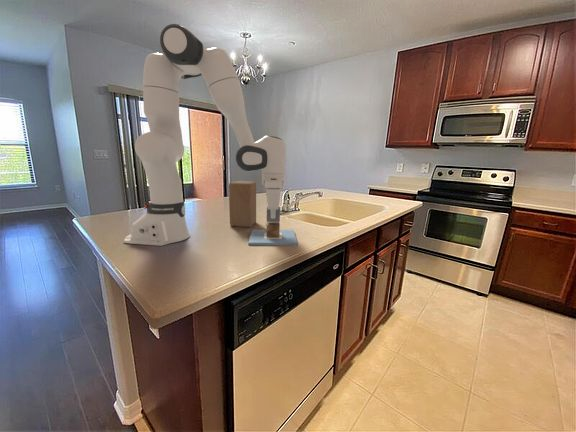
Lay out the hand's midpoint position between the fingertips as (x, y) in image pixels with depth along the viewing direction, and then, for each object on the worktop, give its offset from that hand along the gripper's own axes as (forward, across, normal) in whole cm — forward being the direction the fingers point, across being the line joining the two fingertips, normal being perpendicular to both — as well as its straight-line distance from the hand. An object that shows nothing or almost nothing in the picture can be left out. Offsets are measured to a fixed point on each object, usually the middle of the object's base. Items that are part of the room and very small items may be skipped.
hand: (273, 216), depth 99 cm
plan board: (+9, 0, 0) cm, 9 cm away
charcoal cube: (+2, 0, 0) cm, 2 cm away
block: (+9, -20, -14) cm, 26 cm away
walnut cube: (+8, 0, 0) cm, 8 cm away
